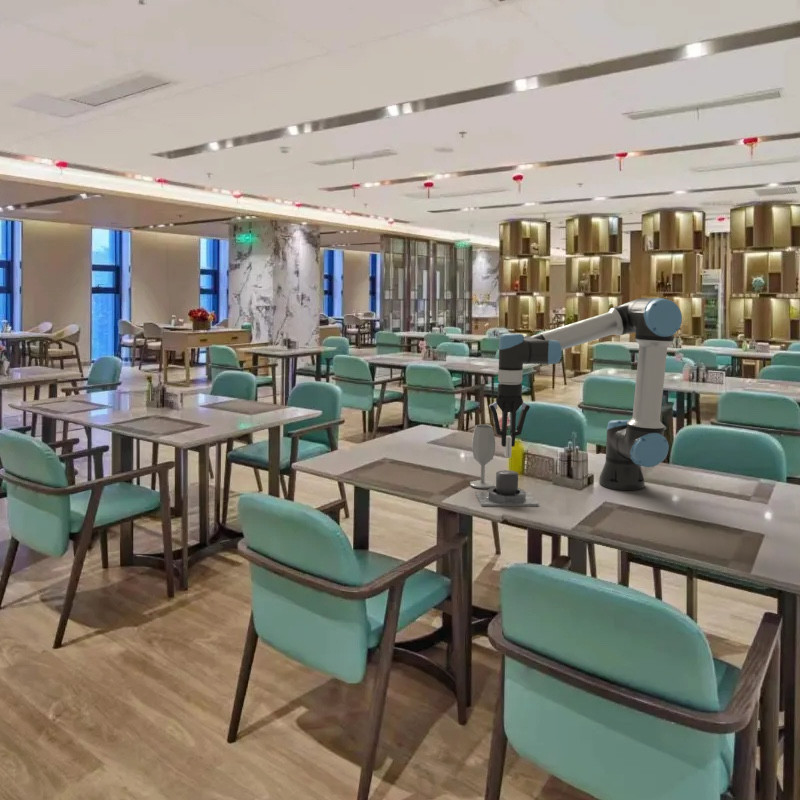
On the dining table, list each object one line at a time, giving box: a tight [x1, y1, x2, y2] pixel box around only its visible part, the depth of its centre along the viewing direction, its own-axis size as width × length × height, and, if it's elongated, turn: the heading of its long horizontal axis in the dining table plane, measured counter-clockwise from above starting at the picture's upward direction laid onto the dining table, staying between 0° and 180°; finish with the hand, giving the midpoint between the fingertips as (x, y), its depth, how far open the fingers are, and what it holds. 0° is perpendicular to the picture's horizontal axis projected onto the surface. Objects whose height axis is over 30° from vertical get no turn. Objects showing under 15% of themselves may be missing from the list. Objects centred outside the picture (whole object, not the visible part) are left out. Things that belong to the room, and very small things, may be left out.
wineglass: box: [469, 424, 496, 490], centre depth 252 cm, size 9×9×21 cm
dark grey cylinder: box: [495, 469, 519, 495], centre depth 236 cm, size 7×7×8 cm
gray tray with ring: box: [475, 486, 539, 507], centre depth 237 cm, size 18×13×3 cm
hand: (507, 456), depth 235 cm, fingers closed
